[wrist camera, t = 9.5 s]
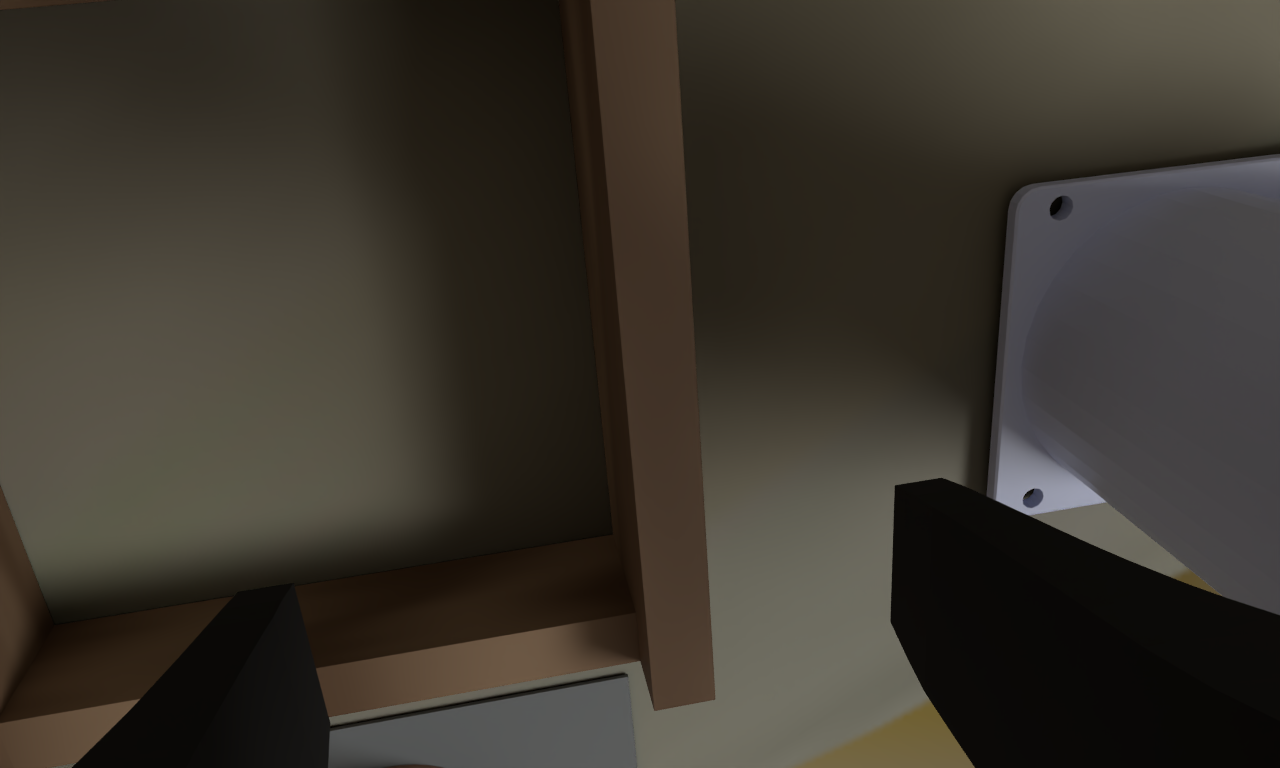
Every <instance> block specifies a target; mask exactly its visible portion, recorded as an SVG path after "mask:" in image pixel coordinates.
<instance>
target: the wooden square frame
mask: <svg viewBox="0 0 1280 768" xmlns="http://www.w3.org/2000/svg"><path fill="white" fill-rule="evenodd" d="M101 1H113V0H0V10H6V9H18V8H30V7H42V6H53V5H65V4H77V3H89V2H101ZM559 10H560V20H561V30H562V39H563V49H564V59H565V69H566V79H567V88H568V98H569V108H570V118H571V127H572V137H573V147H574V157H575V167H576V176H577V186H578V196H579V206H580V216H581V225H582V235H583V245H584V255H585V264H586V274H587V284H588V294H589V304H590V313H591V323H592V333H593V343H594V353H595V362H596V372H597V382H598V392H599V401H600V411H601V421H602V431H603V441H604V450H605V460H606V470H607V480H608V490H609V499H610V509H611V519H612V529H613V535H607V536H601V537H595V538H588V539H582V540H576V541H570V542H564V543H558V544H551V545H545V546H539V547H533V548H527V549H521V550H515V551H508V552H502V553H496V554H490V555H484V556H478V557H472V558H465V559H459V560H453V561H447V562H441V563H435V564H428V565H422V566H416V567H410V568H404V569H398V570H392V571H385V572H379V573H373V574H367V575H361V576H355V577H349V578H342V579H336V580H330V581H324V582H318V583H312V584H305V585H299V586H295V590H296V594H297V598H298V602H299V606H300V609H301V613H302V617H303V621H304V625H305V629H306V632H307V636H308V640H309V644H310V648H311V652H312V655H313V659H314V663H315V667H316V671H317V675H318V678H319V682H320V686H321V690H322V694H323V697H324V701H325V705H326V709H327V713H328V717H332V716H337V715H343V714H349V713H354V712H360V711H365V710H371V709H376V708H382V707H387V706H393V705H398V704H404V703H409V702H415V701H421V700H426V699H432V698H437V697H443V696H448V695H454V694H459V693H465V692H470V691H476V690H481V689H487V688H493V687H498V686H504V685H509V684H515V683H520V682H526V681H531V680H537V679H542V678H548V677H553V676H559V675H564V674H570V673H576V672H581V671H587V670H592V669H598V668H603V667H609V666H614V665H620V664H625V663H631V662H636V661H641V665H642V668H643V672H644V675H645V679H646V683H647V686H648V690H649V693H650V697H651V701H652V704H653V708H654V711H657V710H662V709H667V708H673V707H678V706H683V705H689V704H694V703H699V702H705V701H710V700H715V684H714V667H713V649H712V632H711V615H710V598H709V580H708V563H707V546H706V528H705V511H704V494H703V476H702V459H701V442H700V424H699V407H698V390H697V372H696V355H695V338H694V321H693V303H692V286H691V269H690V251H689V234H688V217H687V199H686V182H685V165H684V147H683V130H682V113H681V95H680V78H679V61H678V43H677V26H676V9H675V0H559ZM233 597H234V596H232V597H226V598H219V599H213V600H207V601H201V602H195V603H189V604H182V605H176V606H170V607H164V608H158V609H152V610H146V611H139V612H133V613H127V614H121V615H115V616H109V617H103V618H96V619H90V620H84V621H78V622H72V623H66V624H59V625H54V623H53V621H52V618H51V615H50V613H49V610H48V608H47V605H46V602H45V600H44V597H43V595H42V592H41V590H40V587H39V584H38V582H37V579H36V577H35V574H34V571H33V569H32V566H31V564H30V561H29V559H28V556H27V553H26V551H25V548H24V546H23V543H22V540H21V538H20V535H19V533H18V530H17V527H16V525H15V522H14V520H13V517H12V515H11V512H10V509H9V507H8V504H7V502H6V499H5V496H4V494H3V491H2V489H1V486H0V768H49V767H55V766H61V765H66V764H72V763H77V762H78V761H79V760H80V759H81V758H82V757H83V756H84V755H85V754H86V753H87V752H88V751H89V750H90V749H91V748H92V747H93V746H94V745H95V744H96V743H97V742H98V741H99V740H100V739H101V738H102V737H103V736H104V735H105V734H106V733H107V732H108V731H109V730H110V729H111V728H112V727H113V726H114V725H115V724H116V723H117V722H119V721H120V720H121V719H122V718H123V717H124V716H125V715H126V714H127V713H128V712H129V711H130V709H131V708H132V707H133V706H134V705H135V704H136V703H137V702H138V701H139V700H140V699H141V698H142V697H143V696H144V694H145V693H146V692H147V691H148V690H149V689H150V688H151V687H152V686H153V685H154V684H155V682H156V681H157V680H158V679H159V678H160V677H161V676H162V675H163V674H164V673H165V672H166V671H167V669H168V668H169V667H170V666H171V665H172V664H173V663H174V662H175V661H176V660H177V659H178V658H179V656H180V655H181V654H182V653H183V652H184V651H185V650H186V649H187V647H188V646H189V645H190V644H191V643H192V642H193V641H194V640H195V638H196V637H197V636H198V635H199V634H200V633H201V632H202V631H203V629H204V628H205V627H206V626H207V625H208V624H209V623H210V622H211V621H212V619H213V618H214V617H215V616H216V615H217V614H218V613H219V612H220V611H221V609H222V608H223V607H224V606H225V605H226V604H227V603H228V602H229V601H230V600H231V599H232V598H233Z"/></svg>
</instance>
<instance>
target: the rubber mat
mask: <svg viewBox="0 0 1280 768" xmlns="http://www.w3.org/2000/svg"><path fill="white" fill-rule="evenodd" d="M400 765H430V766H437V767H443V768H637V760H636V750H635V740H634V730H633V720H632V711H631V701H630V691H629V681H628V675H627V674H625V675H620V676H614V677H609V678H603V679H598V680H592V681H587V682H581V683H576V684H570V685H565V686H559V687H554V688H548V689H543V690H537V691H532V692H526V693H521V694H515V695H510V696H504V697H499V698H493V699H488V700H482V701H477V702H471V703H466V704H460V705H455V706H449V707H444V708H438V709H433V710H427V711H422V712H416V713H411V714H405V715H400V716H394V717H389V718H383V719H378V720H372V721H367V722H361V723H356V724H350V725H345V726H339V727H334V728H330V739H329V759H328V768H387V767H394V766H400Z"/></svg>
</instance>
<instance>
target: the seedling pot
mask: <svg viewBox="0 0 1280 768" xmlns="http://www.w3.org/2000/svg"><path fill="white" fill-rule="evenodd" d="M387 768H443V767H437V766H430V765H400V766H394V767H387Z"/></svg>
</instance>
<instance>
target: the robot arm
mask: <svg viewBox="0 0 1280 768" xmlns="http://www.w3.org/2000/svg"><path fill="white" fill-rule="evenodd" d="M1060 196H1061V197H1062V205H1061V208H1060V210H1059V211H1058V212H1057V213H1056V214H1054V215H1052V216H1050V210H1049V209H1050V206H1051V203H1052V202H1053V201H1054V200H1055V199H1056V198H1057V197H1060ZM1034 488H1035V489H1034ZM1031 489H1034V491H1033V494H1032V495H1031V496H1030V497H1029V498H1026V499H1024V500H1023V497H1024V495H1025V494H1026V493H1027V492H1028V491H1029V490H1031ZM1105 502H1107V503H1109V504H1110V505H1111V506H1112V507H1113V508H1115V509H1116V510H1117V511H1118V512H1120V513H1121V514H1122V515H1123V516H1125V517H1126V518H1127V519H1128V520H1130V521H1131V522H1132V523H1133V524H1134V525H1136V526H1137V527H1138V528H1139V529H1141V530H1142V531H1143V532H1144V533H1146V534H1147V535H1148V536H1149V537H1151V538H1152V539H1153V540H1154V541H1155V542H1157V543H1158V544H1159V545H1160V546H1162V547H1163V548H1164V549H1165V550H1167V551H1168V552H1169V553H1170V554H1172V555H1173V556H1174V557H1175V558H1176V559H1178V560H1179V561H1180V562H1181V563H1183V564H1184V565H1185V566H1186V567H1188V568H1189V569H1190V570H1191V571H1193V572H1194V573H1195V574H1196V575H1197V576H1199V577H1200V578H1201V579H1202V580H1204V581H1205V582H1206V583H1207V584H1209V585H1210V586H1211V587H1212V588H1214V589H1215V590H1216V591H1217V592H1218V593H1220V594H1221V595H1222V596H1220V595H1216V594H1214V593H1211V592H1208V591H1206V590H1203V589H1200V588H1197V587H1194V586H1192V585H1189V584H1186V583H1184V582H1181V581H1179V580H1176V579H1173V578H1171V577H1168V576H1166V575H1163V574H1161V573H1158V572H1156V571H1153V570H1151V569H1148V568H1146V567H1143V566H1141V565H1138V564H1136V563H1133V562H1131V561H1128V560H1126V559H1124V558H1121V557H1119V556H1117V555H1114V554H1112V553H1110V552H1107V551H1105V550H1103V549H1100V548H1098V547H1096V546H1094V545H1091V544H1089V543H1087V542H1085V541H1082V540H1080V539H1078V538H1076V537H1074V536H1071V535H1069V534H1067V533H1065V532H1063V531H1060V530H1058V529H1056V528H1054V527H1052V526H1050V525H1047V524H1045V523H1043V522H1041V521H1039V520H1037V519H1035V518H1032V517H1030V516H1029V515H1034V514H1040V513H1046V512H1052V511H1058V510H1064V509H1070V508H1076V507H1082V506H1088V505H1093V504H1099V503H1105ZM891 624H892V626H893V628H894V630H895V632H896V635H897V637H898V639H899V641H900V643H901V645H902V647H903V649H904V652H905V654H906V656H907V658H908V660H909V662H910V664H911V666H912V668H913V670H914V672H915V674H916V676H917V678H918V680H919V682H920V684H921V686H922V688H923V690H924V691H925V693H926V695H927V696H928V698H929V699H930V701H931V702H932V704H933V705H934V707H935V708H936V710H937V711H938V713H939V714H940V716H941V717H942V719H943V721H944V722H945V724H946V725H947V726H948V728H949V729H950V731H951V733H952V734H953V736H954V737H955V739H956V740H957V742H958V743H959V744H960V746H961V748H962V749H963V750H964V752H965V753H966V755H967V756H968V758H969V759H970V761H971V762H972V764H973V765H974V767H975V768H1280V154H1273V155H1265V156H1256V157H1248V158H1240V159H1232V160H1224V161H1215V162H1207V163H1199V164H1191V165H1182V166H1174V167H1166V168H1158V169H1150V170H1141V171H1133V172H1125V173H1117V174H1108V175H1100V176H1092V177H1084V178H1075V179H1067V180H1059V181H1051V182H1043V183H1034V184H1030V185H1027V186H1024V187H1022V188H1021V189H1020V190H1019V191H1017V192H1016V193H1015V195H1014V196H1013V198H1012V199H1011V201H1010V205H1009V209H1008V219H1007V232H1006V245H1005V259H1004V272H1003V285H1002V298H1001V312H1000V325H999V338H998V352H997V365H996V378H995V391H994V405H993V418H992V431H991V444H990V458H989V471H988V484H987V496H985V495H983V494H981V493H978V492H976V491H974V490H972V489H969V488H967V487H965V486H962V485H960V484H957V483H955V482H952V481H949V480H946V479H943V478H938V479H932V480H925V481H919V482H913V483H907V484H901V485H895V498H894V529H893V560H892V592H891ZM329 739H330V720H329V717H328V713H327V709H326V705H325V701H324V697H323V694H322V690H321V686H320V682H319V678H318V675H317V671H316V667H315V663H314V659H313V655H312V652H311V648H310V644H309V640H308V636H307V632H306V629H305V625H304V621H303V617H302V613H301V609H300V606H299V602H298V598H297V594H296V590H295V586H294V583H290V584H284V585H278V586H272V587H266V588H259V589H253V590H247V591H241V592H238V593H237V594H236V595H235V596H234V597H233V598H232V599H231V600H230V601H229V602H228V603H227V604H226V605H225V606H224V607H223V608H222V609H221V611H220V612H219V613H218V614H217V615H216V616H215V617H214V618H213V619H212V621H211V622H210V623H209V624H208V625H207V626H206V627H205V628H204V629H203V631H202V632H201V633H200V634H199V635H198V636H197V637H196V638H195V640H194V641H193V642H192V643H191V644H190V645H189V646H188V647H187V649H186V650H185V651H184V652H183V653H182V654H181V655H180V656H179V658H178V659H177V660H176V661H175V662H174V663H173V664H172V665H171V666H170V667H169V668H168V669H167V671H166V672H165V673H164V674H163V675H162V676H161V677H160V678H159V679H158V680H157V681H156V682H155V684H154V685H153V686H152V687H151V688H150V689H149V690H148V691H147V692H146V693H145V694H144V696H143V697H142V698H141V699H140V700H139V701H138V702H137V703H136V704H135V705H134V706H133V707H132V708H131V709H130V711H129V712H128V713H127V714H126V715H125V716H124V717H123V718H122V719H121V720H120V721H119V722H117V723H116V724H115V725H114V726H113V727H112V728H111V729H110V730H109V731H108V732H107V733H106V734H105V735H104V736H103V737H102V738H101V739H100V740H99V741H98V742H97V743H96V744H95V745H94V746H93V747H92V748H91V749H90V750H89V751H88V752H87V753H86V754H85V755H84V756H83V757H82V758H81V759H80V760H79V761H78V762H77V763H76V764H75V765H74V766H73V767H72V768H328V759H329Z"/></svg>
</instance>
